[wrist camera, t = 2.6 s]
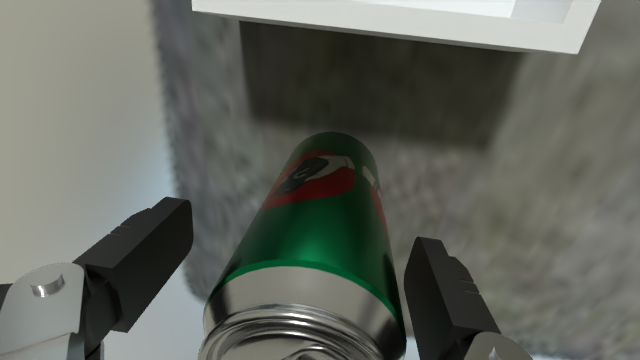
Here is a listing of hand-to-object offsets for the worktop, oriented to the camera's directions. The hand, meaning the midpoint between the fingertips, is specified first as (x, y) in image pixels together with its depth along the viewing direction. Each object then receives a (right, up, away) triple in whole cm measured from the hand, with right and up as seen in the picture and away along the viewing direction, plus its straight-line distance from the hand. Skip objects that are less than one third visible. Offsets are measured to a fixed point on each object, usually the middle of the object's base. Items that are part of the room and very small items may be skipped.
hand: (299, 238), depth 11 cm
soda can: (+2, +3, +7) cm, 7 cm away
